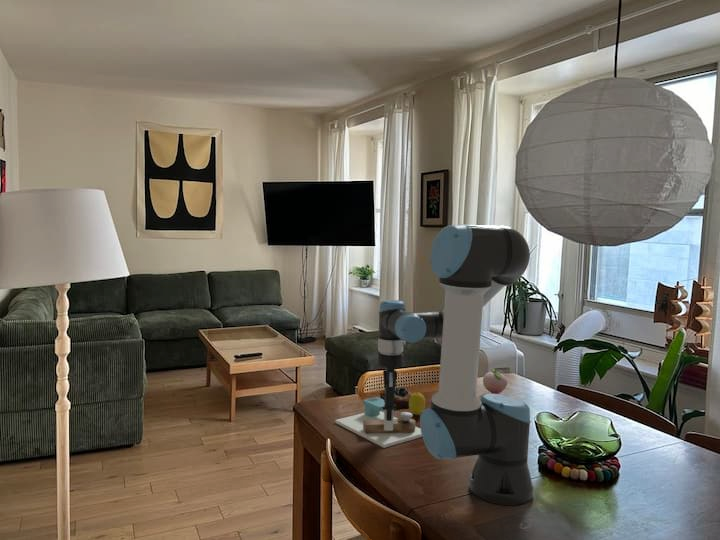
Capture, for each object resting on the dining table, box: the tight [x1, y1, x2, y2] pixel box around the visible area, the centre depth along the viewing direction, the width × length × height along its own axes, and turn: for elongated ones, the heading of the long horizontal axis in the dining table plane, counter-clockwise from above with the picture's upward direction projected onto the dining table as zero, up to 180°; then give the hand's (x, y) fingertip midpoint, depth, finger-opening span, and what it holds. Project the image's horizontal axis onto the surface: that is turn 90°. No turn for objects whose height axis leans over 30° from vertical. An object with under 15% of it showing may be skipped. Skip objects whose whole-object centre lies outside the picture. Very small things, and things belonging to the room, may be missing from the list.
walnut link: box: [363, 417, 416, 433], centre depth 176 cm, size 16×6×2 cm, turn 100°
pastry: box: [379, 386, 413, 409], centre depth 205 cm, size 11×12×6 cm
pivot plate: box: [335, 411, 423, 449], centre depth 180 cm, size 24×18×6 cm
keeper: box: [363, 396, 385, 417], centre depth 188 cm, size 8×6×6 cm
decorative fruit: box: [482, 368, 508, 394], centre depth 218 cm, size 9×8×10 cm
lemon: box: [408, 391, 426, 416], centre depth 193 cm, size 6×6×8 cm
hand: (388, 429), depth 173 cm, fingers closed
